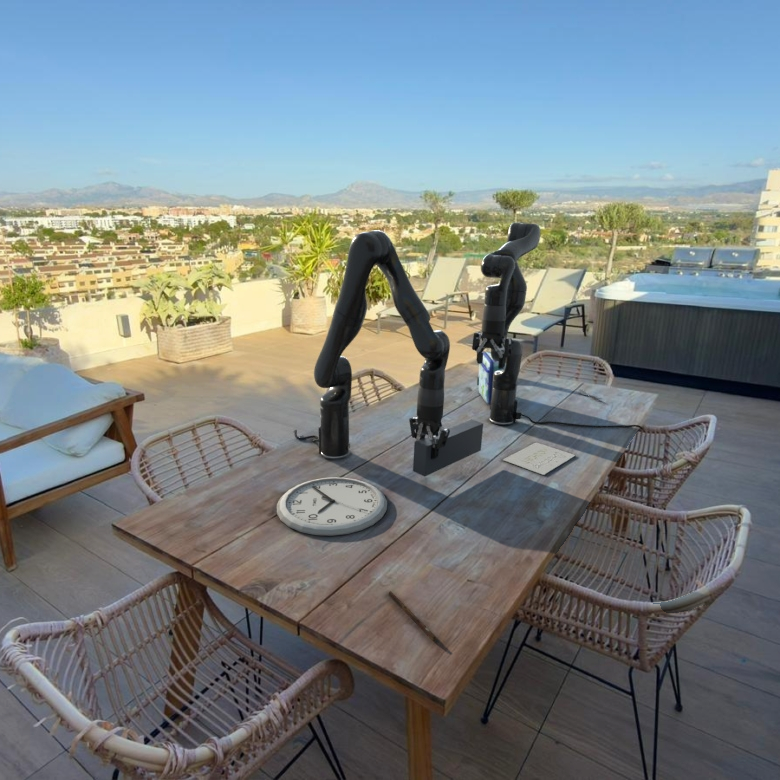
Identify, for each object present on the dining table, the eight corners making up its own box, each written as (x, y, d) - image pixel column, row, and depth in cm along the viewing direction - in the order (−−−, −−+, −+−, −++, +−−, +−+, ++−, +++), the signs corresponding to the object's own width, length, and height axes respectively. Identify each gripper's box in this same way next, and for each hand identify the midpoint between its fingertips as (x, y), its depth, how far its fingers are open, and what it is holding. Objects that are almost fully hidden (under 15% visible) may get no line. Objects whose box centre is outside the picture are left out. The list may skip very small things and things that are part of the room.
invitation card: (535, 442, 186) (575, 454, 176) (535, 442, 187) (575, 455, 176) (502, 459, 172) (543, 474, 162) (502, 460, 172) (543, 475, 162)
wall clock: (392, 527, 129) (268, 531, 127) (391, 533, 130) (269, 537, 127) (383, 473, 158) (282, 475, 155) (383, 478, 158) (282, 480, 156)
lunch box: (475, 390, 246) (478, 346, 240) (498, 390, 246) (501, 347, 240) (484, 408, 221) (487, 360, 215) (509, 409, 221) (513, 360, 215)
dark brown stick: (388, 595, 108) (388, 591, 108) (390, 594, 108) (390, 590, 108) (433, 641, 96) (433, 637, 96) (435, 640, 96) (435, 636, 96)
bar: (469, 445, 174) (471, 419, 171) (480, 450, 170) (483, 423, 168) (412, 471, 155) (414, 441, 152) (424, 476, 152) (426, 446, 149)
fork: (599, 403, 231) (599, 398, 230) (577, 392, 245) (578, 388, 245) (604, 402, 231) (604, 398, 231) (582, 392, 246) (583, 387, 245)
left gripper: (403, 397, 151) (400, 451, 156) (441, 410, 141) (437, 467, 147) (420, 392, 156) (417, 444, 161) (458, 404, 146) (454, 460, 152)
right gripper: (469, 316, 174) (466, 363, 179) (505, 322, 164) (501, 372, 169) (482, 314, 179) (479, 360, 184) (518, 319, 169) (514, 368, 174)
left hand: (427, 455), depth 154 cm, fingers closed on bar, 4 cm apart
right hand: (490, 365), depth 176 cm, fingers open, 8 cm apart
